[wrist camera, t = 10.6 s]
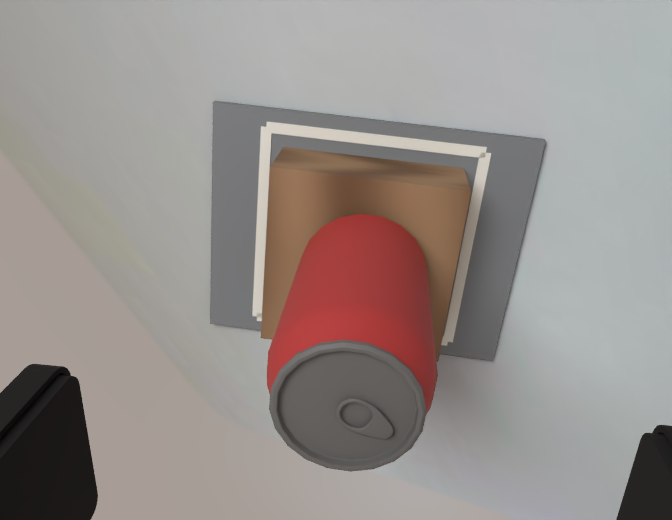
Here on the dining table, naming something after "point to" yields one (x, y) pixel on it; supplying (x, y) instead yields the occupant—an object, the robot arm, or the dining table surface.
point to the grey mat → (378, 142)
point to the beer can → (354, 347)
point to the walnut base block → (362, 198)
